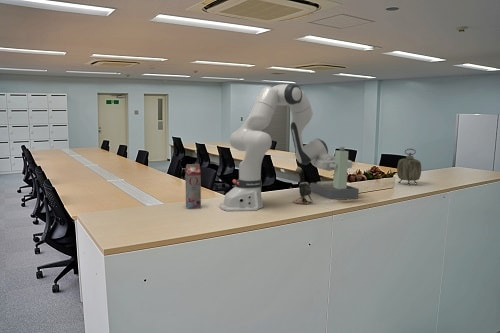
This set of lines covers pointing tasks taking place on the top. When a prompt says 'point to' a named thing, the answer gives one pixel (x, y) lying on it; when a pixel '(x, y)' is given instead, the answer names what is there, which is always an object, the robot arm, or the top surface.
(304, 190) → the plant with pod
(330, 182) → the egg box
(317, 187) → the tray
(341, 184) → the drink bottle
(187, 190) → the juice carton
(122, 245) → the top surface
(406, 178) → the tabletop clock
